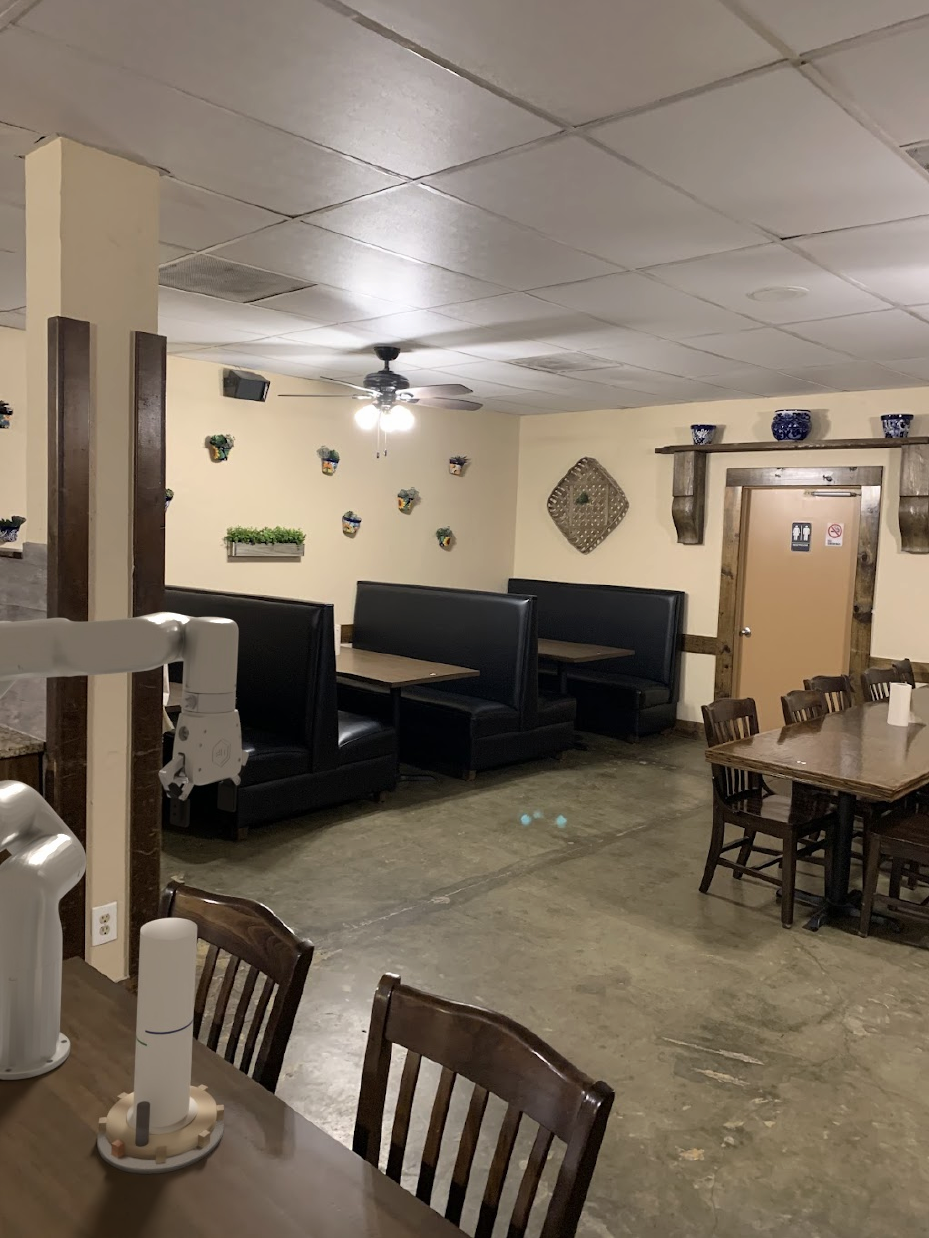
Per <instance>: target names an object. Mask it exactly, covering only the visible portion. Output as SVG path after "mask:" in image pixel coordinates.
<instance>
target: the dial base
mask: <svg viewBox="0 0 929 1238" xmlns="http://www.w3.org/2000/svg"><path fill="white" fill-rule="evenodd" d="M224 1122H225V1118H224V1119H223V1121H216V1125H215V1128H214V1130H213V1132H212V1133H211V1135H210V1144H208V1145H207V1146H205V1147H204V1148H202V1147H200V1146H196V1147H195V1148H193V1149H191V1150H189V1151H186V1152H184V1153H181V1154H178V1155H174V1156H170V1157H166V1162H162V1163H156V1159H144V1158H136V1157H131V1156H127V1155H125V1154H123V1155H122V1156H121V1157H119V1158H117V1157H115V1156H113V1155H111V1147H112V1146H111V1145H110V1144H109V1142H108V1140H107V1137H106V1134H98V1133H97V1144H96V1145H97V1151H98V1153H99V1155H100V1156H101V1158H102V1159H103V1161H105V1163H107V1164H108V1165H110V1166H112V1167H113V1168H116V1169H118V1170H120V1171H124V1172H128V1173H132V1174H140V1175H141V1174H142V1175H146V1174H147V1175H152V1174H162V1173H163V1174H164V1173H168V1172H173V1171H177V1170H180V1169H183V1168H186V1167H189V1166H190V1165H191V1166H192V1165H193V1164H195V1163H197V1162H199V1161H200V1160H202V1159H204V1158H205V1157H207V1156H208V1155H209V1154H210V1153H211V1152H213V1151H214V1149H216V1148H217V1147H218V1144H219V1143H221V1140H222V1137H223V1135H224V1126H225V1123H224Z"/></svg>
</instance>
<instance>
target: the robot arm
mask: <svg viewBox="0 0 929 1238" xmlns="http://www.w3.org/2000/svg"><path fill="white" fill-rule="evenodd" d="M238 654H239V627H238V624H237V622H236V621H234V620H233V619H230V618H225V617H218V616H201V617H200V616H199V617H195V616H189V615H184V614H180V613H176V612H169V611H167V612H166V611H162V612H161V611H159V612H155V613H150V614H145V615H140V616H136V617H127V618H118V619H116V618H115V619H107V620H93V621H91V620H90V621H73V620H70V619H68V618H65V617H51V618H40V619H29V620H19V621H18V620H17V621H10V620H0V700H1V699H2V698H3V696H4V695H5V694H6V693H7V692H8V691H9V690H10V689H11V688H12V687H13V685H15V683H16V682H17V681H18V680H28V679H39V678H40V679H45V678H59V677H69V678H70V677H75V676H76V677H77V676H99V675H113V674H127V673H137V672H144V671H145V672H146V671H152V670H155V669H157V668H159V667H160V668H161V667H162V666H164V665H168V664H171V663H175V662H183V670H182V691H181V692H182V693H181V694H182V695H181V698H180V700H179V706H180V707H181V712H180V713H179V714H178V720H177V723H176V728H175V734H174V740H173V748H172V749H173V750H172V759H171V760H170V761H169V762H168V763H167V764H165V766H164V767H162V769H160V770H159V772H158V778H159V781H160V783H161V785H162V787H161V788H162V789H163V790H164V792H165V793H166V796H167V798H170V801H169V802H170V803H169V806H170V807H169V824H171V825H174V826H178V827H182V828H187V827H189V825H190V817H191V816H190V814H191V799H190V798H188V796H189V794H190V793H191V792H192V790H193V787H194V786H204V785H209V784H212V783H215V782H218V786H217V800H216V803H217V805H216V806H217V809H218V810H222V811H226V812H230V813H234V812H236V811H237V794H238V785H240V784H241V777H242V776H243V774H244V772H245V769H246V767H245V766H246V764H247V761H248V758H249V755H250V754H249V752H248V751H246V750H244V749H242V747H243V746H242V730H241V729H242V727H241V722H240V721H241V720H240V715H239V711H238V710H239V709H236V696H237V694H236V693H237V692H236V691H237V676H238V675H237V673H238V657H239V655H238ZM220 781H221V782H220ZM182 784H184V785H183V786H182ZM181 786H182V788H181ZM4 850H7V852H9V853H10V854H11V855H10V856H8V857H7V858H6V859H5V860H4V861H3V862H2V863H1V864H0V1080H5V1081H6V1080H7V1081H9V1080H10V1081H11V1080H12V1081H13V1080H23V1079H29V1078H33V1077H36V1076H37V1077H38V1076H41V1075H43V1074H45V1073H49V1072H50V1071H53V1070H54V1069H55V1068H58V1067H59V1066H60V1065H62V1064H63V1063H64V1062H65V1061H66V1059H67V1058H68V1057H69V1055H70V1053H71V1041H70V1039H69V1038H68V1037H67V1036H66V1035H65V1034H64V1033H62V1032H61V1008H62V1007H61V1003H62V1002H61V1001H62V999H61V998H62V977H63V976H62V973H63V930H62V929H63V928H62V923H61V920H60V913H59V903H60V901H61V899H63V898H64V896H65V895H66V894H68V892H69V891H71V890H72V889H73V888H74V887H75V886H76V885H77V884H78V883H79V882H80V880H81V879H82V877H83V876H84V874H85V872H86V868H87V863H88V862H87V855H86V852H85V849H84V847H83V844H82V842H81V841H80V840H79V839H78V837H77V836H76V835H75V834H74V832H73V831H72V830H71V828H69V826H68V825H67V824H66V823H65V822H64V820H63V819H62V818H61V817H60V816H59V815H58V813H57V812H56V811H55V810H54V808H52V806H51V805H50V804H49V803H48V802H47V801H46V800H45V798H44V797H43V795H41V794H40V792H38V791H37V790H36V789H34V788H33V787H32V786H30V785H28V784H26V783H24V782H22V781H18V780H11V779H10V780H9V779H7V780H6V779H5V780H0V853H1V852H2V851H4Z"/></svg>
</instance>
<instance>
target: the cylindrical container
mask: <svg viewBox="0 0 929 1238" xmlns="http://www.w3.org/2000/svg"><path fill="white" fill-rule="evenodd" d="M197 938H198V924H196V922H195V921H192V920H190V919H187V918H181V917H164V918H163V917H162V918H159V919H155V920H151V921H149V922H146V923H144V924H143V925H142V926H141V927H140V932H139V956H138V957H139V958H138V976H137V977H138V982H137V1001H136V1002H137V1005H136V1009H137V1010H136V1031H135V1056H134V1080H133V1081H134V1083H133V1092H134V1103H133V1117H134V1119H135V1121H136V1114H137V1104H138V1103H140V1102H143V1101H147V1102H149V1103H150V1122H149V1127H165V1126H169V1125H172V1124H175V1123H177V1122H179V1121H180V1120H182V1119H183V1118H184V1117H185V1116H186V1115H187V1114H188V1112H189V1103H190V1086H191V1079H192V1078H191V1075H192V1055H193V1036H194V1035H193V1032H194V1013H195V1012H194V1009H195V991H196V990H195V989H196V970H197V969H196V968H197V967H196V966H197V947H198V946H197V944H198V943H197V941H198V939H197Z"/></svg>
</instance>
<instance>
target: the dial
mask: <svg viewBox="0 0 929 1238" xmlns="http://www.w3.org/2000/svg"><path fill="white" fill-rule="evenodd" d="M133 1103H134V1091H132V1092H130V1093H127V1092H126V1091H125V1092H124V1091H123V1092H121V1093H120V1094H118V1095H117V1096H116V1102H115V1104H114V1105H113V1106H112V1107H111V1108H110V1109H109V1111H108V1113H107V1116H102V1117H98V1118H99V1119H98V1127H97V1128H98V1129H97V1130H98V1131H97V1135H98V1134H106V1137H107V1140H108V1142H109V1144H110V1145H111V1146H112V1147H111V1155H113V1156H115V1157H117V1158H119V1157H121V1156H122V1155H123V1154H125V1155H127V1156H131V1157H136V1158H144V1159H156V1163H162V1162H166V1157H170V1156H174V1155H178V1154H181V1153H184V1152H186V1151H189V1150H191V1149H193V1148H195V1147H196V1146H200V1147H202V1148H204V1147H205V1146H207V1145H208V1144H210V1135H211V1133H212V1132H213V1130H214V1128H215V1125H216V1121H223V1119H224V1120H225V1118H224V1117H225V1116H224V1114H225V1105H224V1104H217V1102H216V1100H215V1098H214V1097H213V1096H212V1095H211V1094H210V1093H209V1086H207V1085H204V1084H201V1083H200V1085H198V1086H194V1085H190V1103H189V1112H188V1114H187V1115H186V1116H185V1117H184V1118H183V1119H182V1120H180V1121H179V1122H177V1123H175V1124H172V1125H169V1126H165V1127H149V1122H150V1103H149V1102H147V1101H143V1102H140V1103H138V1104H137V1114H136V1121H135V1119H134V1117H133Z"/></svg>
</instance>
